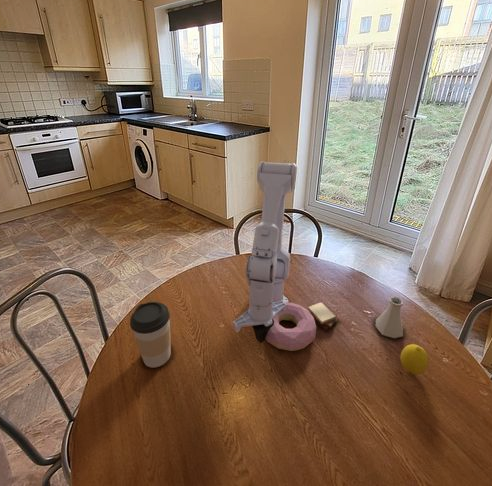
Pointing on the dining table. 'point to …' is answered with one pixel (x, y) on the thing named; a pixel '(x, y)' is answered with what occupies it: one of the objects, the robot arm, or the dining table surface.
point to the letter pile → (322, 315)
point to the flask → (391, 319)
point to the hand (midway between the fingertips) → (260, 339)
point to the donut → (295, 336)
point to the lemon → (414, 359)
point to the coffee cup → (152, 333)
